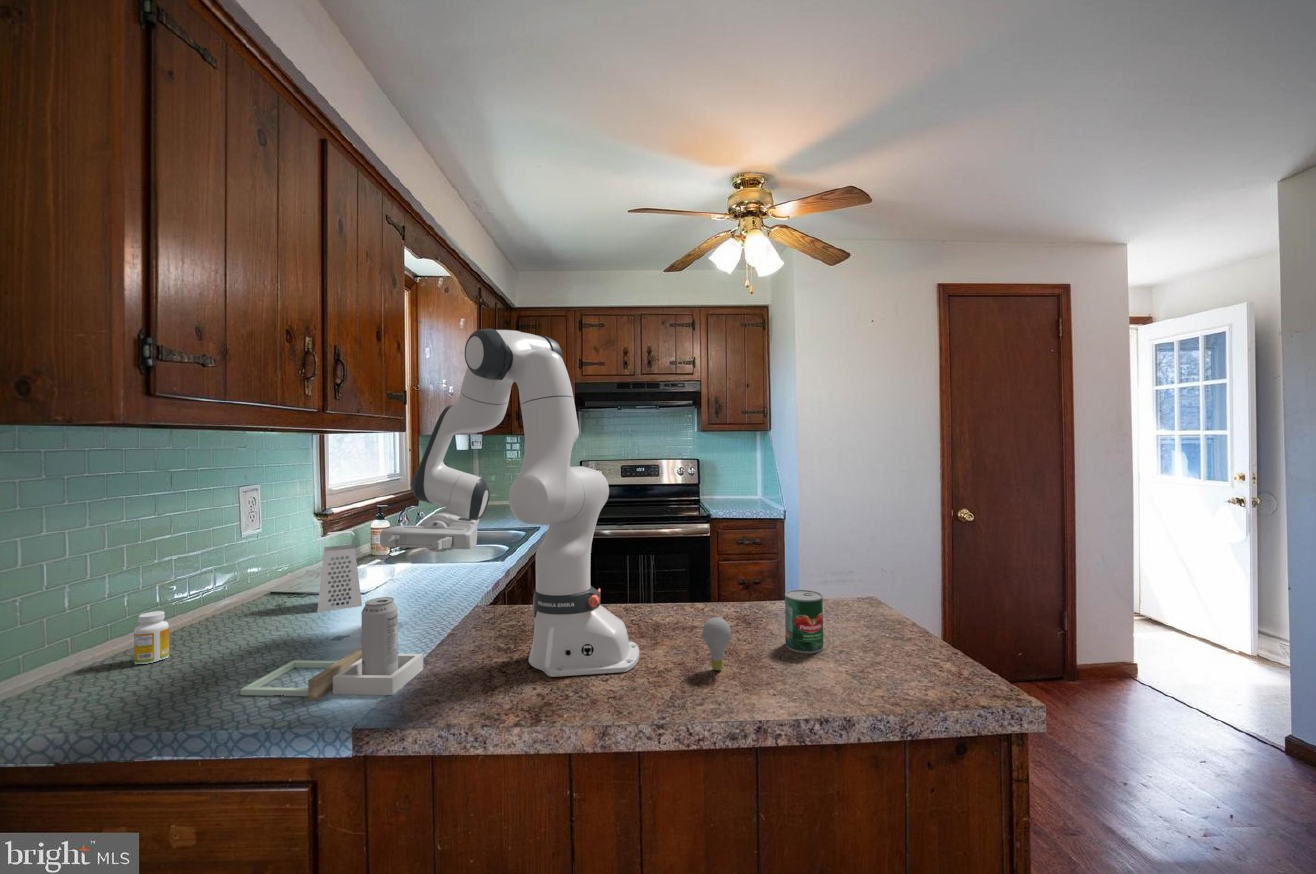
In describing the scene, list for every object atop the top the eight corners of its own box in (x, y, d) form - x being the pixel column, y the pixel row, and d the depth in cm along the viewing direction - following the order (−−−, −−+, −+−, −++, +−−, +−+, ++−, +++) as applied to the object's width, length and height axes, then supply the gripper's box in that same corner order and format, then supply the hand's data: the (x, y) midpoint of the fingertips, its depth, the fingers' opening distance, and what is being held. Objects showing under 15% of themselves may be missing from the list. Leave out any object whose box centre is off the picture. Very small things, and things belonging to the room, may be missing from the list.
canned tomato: (808, 656, 112) (808, 602, 112) (777, 645, 118) (777, 594, 118) (831, 647, 117) (830, 595, 117) (800, 637, 123) (799, 587, 123)
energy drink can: (370, 675, 106) (369, 596, 106) (402, 673, 106) (402, 595, 107) (356, 689, 100) (355, 606, 100) (390, 687, 100) (390, 604, 101)
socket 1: (355, 666, 110) (355, 661, 110) (310, 696, 97) (310, 690, 97) (293, 665, 111) (293, 660, 111) (240, 695, 98) (240, 689, 98)
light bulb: (736, 668, 107) (735, 616, 107) (724, 678, 102) (723, 624, 102) (710, 662, 110) (709, 612, 110) (698, 672, 105) (697, 620, 105)
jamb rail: (370, 663, 112) (370, 646, 112) (316, 700, 96) (316, 680, 96) (363, 663, 112) (363, 646, 112) (308, 700, 96) (308, 680, 96)
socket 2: (423, 669, 108) (423, 654, 108) (392, 695, 97) (392, 678, 97) (369, 668, 109) (369, 653, 109) (332, 694, 98) (332, 677, 98)
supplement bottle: (163, 653, 118) (163, 608, 118) (173, 658, 116) (173, 612, 116) (129, 662, 114) (129, 615, 114) (139, 667, 111) (139, 619, 111)
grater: (362, 606, 152) (361, 533, 152) (317, 612, 146) (316, 537, 147) (360, 597, 161) (360, 528, 161) (318, 602, 156) (317, 531, 156)
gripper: (397, 517, 130) (364, 528, 116) (483, 520, 129) (460, 531, 116) (396, 544, 130) (364, 558, 116) (482, 546, 130) (460, 561, 116)
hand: (413, 545), depth 116 cm, fingers open, 8 cm apart
